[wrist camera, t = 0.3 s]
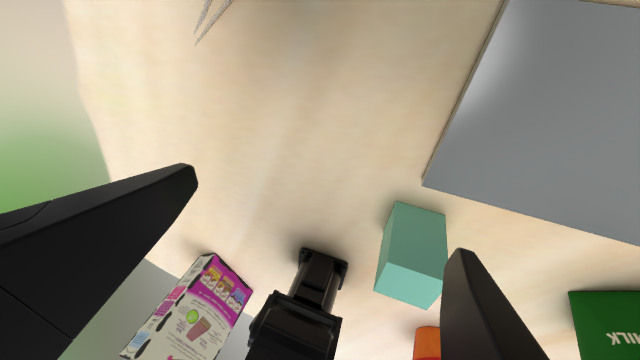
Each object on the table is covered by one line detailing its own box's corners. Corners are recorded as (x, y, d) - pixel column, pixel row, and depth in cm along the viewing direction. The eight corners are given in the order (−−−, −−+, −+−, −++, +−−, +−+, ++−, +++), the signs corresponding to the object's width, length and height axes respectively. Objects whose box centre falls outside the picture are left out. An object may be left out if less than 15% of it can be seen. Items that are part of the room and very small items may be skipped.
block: (427, 244, 26) (426, 310, 21) (383, 230, 27) (373, 290, 22) (445, 215, 23) (449, 283, 18) (396, 201, 24) (387, 261, 19)
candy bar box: (199, 254, 46) (115, 355, 33) (215, 252, 43) (130, 360, 31) (237, 291, 50) (176, 392, 38) (254, 291, 47) (194, 400, 35)
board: (641, 238, 19) (649, 249, 18) (421, 178, 22) (421, 185, 21) (928, 45, 10) (965, 51, 10) (508, -9, 13) (513, -8, 13)
